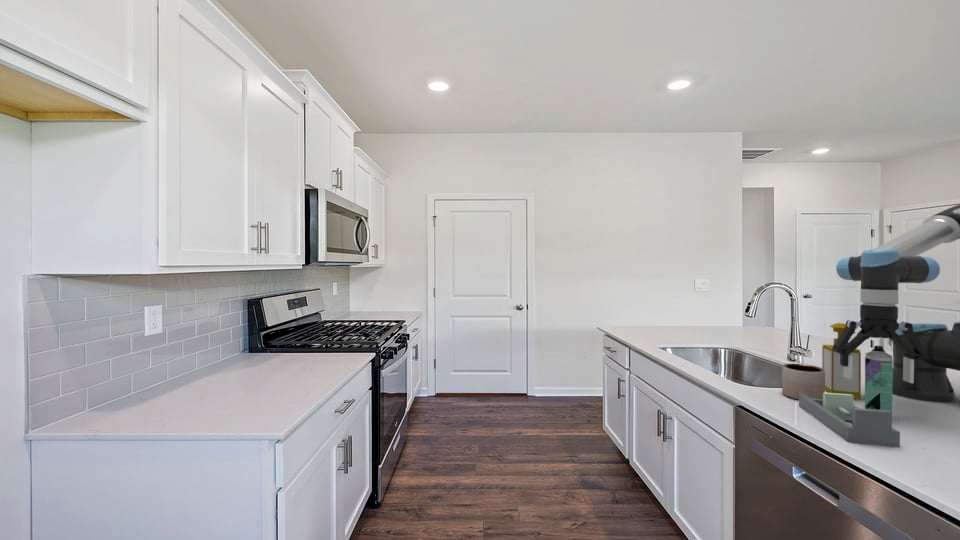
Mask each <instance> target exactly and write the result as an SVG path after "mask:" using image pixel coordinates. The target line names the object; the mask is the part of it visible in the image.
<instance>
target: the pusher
mask: <svg viewBox="0 0 960 540" xmlns="http://www.w3.org/2000/svg"><path fill="white" fill-rule="evenodd" d="M854 400H855V399H854V396H853V395H851V394H839V393H823V407H824V408H826V409H827V410H829V411H830V412H832V413H833V414H835V415H836V416H838V417H839V418H841V419H842V420H844V421H845V422H852V408H854V406H855V405H854V404H855V403H854Z"/></svg>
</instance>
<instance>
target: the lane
mask: <svg viewBox="0 0 960 540" xmlns="http://www.w3.org/2000/svg"><path fill="white" fill-rule="evenodd" d="M798 406H799V407H800V408H801V409H802V410H804V411H805V412H807V413H808V414H810V415H811V416H813V418H816V420H818V421H819V422H820V423H821V424H823V425H825V426H826V427H827V428H829V430H831V431H832V432H834V433H835V434H837V435H838V436H840V437H841V438H842V439H843V440H844V441H846V442H848V443H859V444H867V445H876V446H877V445H879V446H890V447H901V443H900V442H901V438H900V437H901V432H900V431H898V430H897V429H896V428H893V411H892V412H890V411H888V410H875V409H865V408H861V407H857V406H855V405H854V408H852V421H851V424H850V423H849V422H848V421H846V420H842V419H841V418H839V417H838V416H836V415H835V414H833V413H832V412H830V411H829V410H827V409H826V408H824V407H823V399H812V398H809V397H808V396H806V395H801V394H799V400H798Z"/></svg>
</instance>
